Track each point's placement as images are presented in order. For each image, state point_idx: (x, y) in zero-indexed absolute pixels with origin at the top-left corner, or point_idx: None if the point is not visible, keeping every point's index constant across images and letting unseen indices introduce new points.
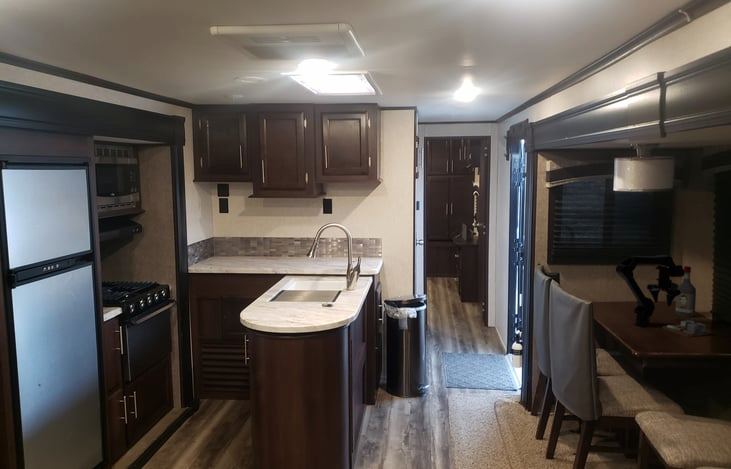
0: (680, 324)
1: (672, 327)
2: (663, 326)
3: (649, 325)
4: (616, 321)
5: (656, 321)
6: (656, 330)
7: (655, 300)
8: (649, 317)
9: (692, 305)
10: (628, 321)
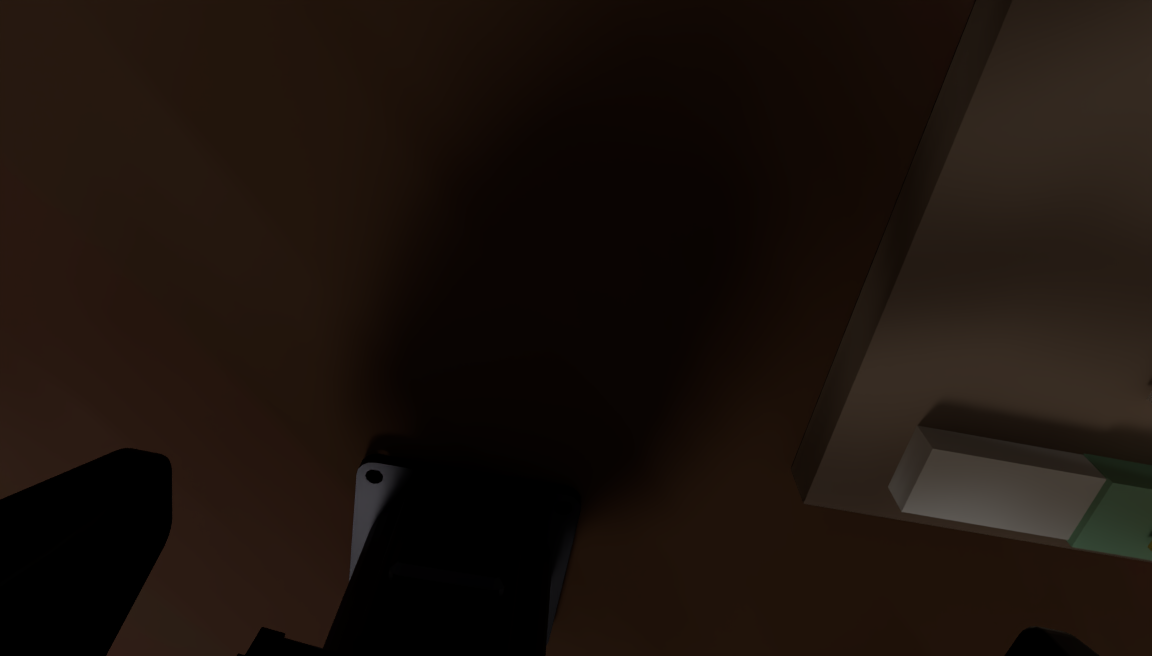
0: (1014, 20)
1: (1025, 526)
2: (821, 503)
3: (562, 526)
4: None
5: (340, 25)
6: (773, 608)
7: (95, 653)
8: (501, 594)
9: None
10: None
